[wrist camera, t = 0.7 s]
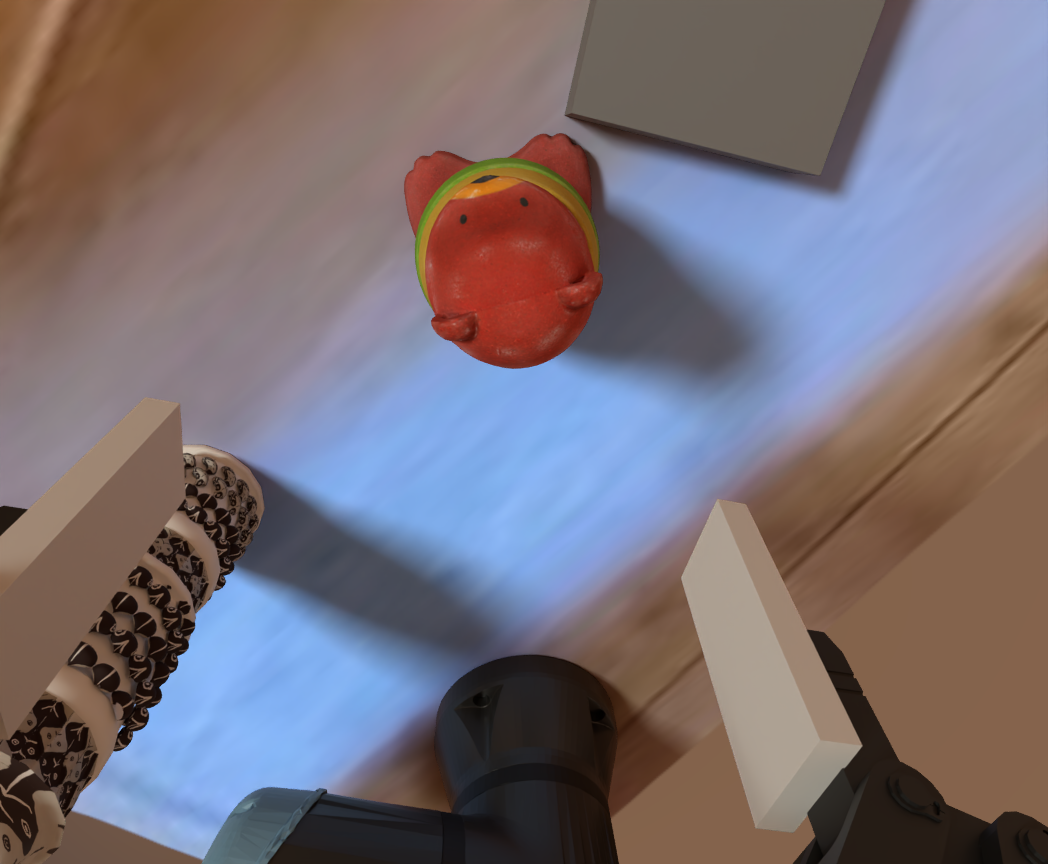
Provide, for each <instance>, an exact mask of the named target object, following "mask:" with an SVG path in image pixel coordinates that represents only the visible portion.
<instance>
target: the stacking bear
mask: <svg viewBox="0 0 1048 864" xmlns="http://www.w3.org/2000/svg"><path fill="white" fill-rule="evenodd" d="M404 192H405V199H406V205H407V211H408V215H409V219H410V223H411V226H412V229H413V232H414V235H415V237H416V242H415V263H416V269H417V275H418V279H419V282H420V286H421V288H422V291H423V293H424V295H425V297H426V299H427V301H428V303H429V305H430V306H431V308H432V310H433V311H434V313H435V317H434V318H432V320H431V324H432V327H433V329H434V330H435V332H436V333H437V334H438V335H439V336H440V337H442V338H444V339H445V340H449V341H452V342H453V343H454V344H455V345H457V346H458V347H459V348H460V349H461V350H463V351H464V352H465V353H467V354H469V355H470V356H472V357H473V358H475V359H478V360H480V361H482V362H485V363H488V364H491V365H495V366H499V367H503V368H511V369H516V368H527V367H532V366H536V365H539V364H542V363H544V362H547V361H549V360H551V359H553V358H554V357H556V356H558V355H559V354H561V353H562V352H563V351H565V350H566V349H567V348H568V347H569V346H570V345H571V344H572V343H573V342H574V341H575V340H576V339H577V337H578V336H579V334H580V333H581V331H582V330H583V328H584V327H585V325H586V323H587V321H588V319H589V317H590V314H591V311H592V308H593V304H594V301H595V300H596V299H597V297H598V296H599V294H600V293H601V288H602V284H603V277H602V274H601V273H598V270H599V258H600V252H599V241H598V235H597V231H596V227H595V224H594V221H593V218H592V216H591V178H590V172H589V165H588V161H587V157H586V154H585V152H584V150H583V149H582V147H581V146H579V145H573V144H572V143H571V141H570V138H569V137H568V136H567V135H565V134H562V133H559V134H556V135H554V136H552V137H551V136H549V135H547V134H540V135H538V136H536V137H534V138H533V139H531V140H530V141H529V142H528V143H527V144H526V145H525V146H524V147H523V148H522V149H520V150H519V151H518V152H516V153H515V154H513V155H511V156H510V157H508V158H495V159H489V160H484V161H481V162H472V161H469V160H466V159H464V158H461V157H459V156H457V155H455V154H452V153H449V152H445V151H436V152H435V153H434V154H433V155H432V156H421V157H419V158H418V159H417V160H416V161H415V163H414V169H413V170H412V171H410V172H409V173H408V174H407V175H406V178H405V183H404Z"/></svg>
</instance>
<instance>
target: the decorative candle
mask: <svg viewBox="0 0 1048 864" xmlns="http://www.w3.org/2000/svg"><path fill="white" fill-rule="evenodd" d="M183 461H184V477H185V493H186V498H185V499H184V501H183V502H182V504H181V505H180V506H179V508H178V509H177V510H176V512H175V513H174V515H173V516H172V517H171V519H170V520H169V521H168V523H167V524H166V525H165V527H164V528H163V530H162V531H161V532H160V534H159V535H158V536H157V538H156V539H155V541H154V542H153V543H152V545H151V546H150V547H149V549H148V550H147V552H146V553H145V554H144V556H143V557H142V558H141V560H140V561H139V563H138V564H137V565H136V567H135V568H134V569H133V571H132V572H131V574H130V575H129V576H128V578H127V579H126V580H125V582H124V583H123V585H122V586H121V587H120V589H119V590H118V591H117V593H116V594H115V595H114V597H113V598H112V600H111V601H110V602H109V604H108V605H107V606H106V608H105V609H104V611H103V612H102V613H101V615H100V616H99V617H98V619H97V620H96V622H95V623H94V624H93V626H92V627H91V628H90V630H89V631H88V633H87V634H86V635H85V637H84V638H83V639H82V641H81V642H80V644H79V645H78V646H77V648H76V649H75V650H74V652H73V653H72V655H71V656H70V657H69V659H68V660H67V661H66V663H65V664H64V665H63V667H62V668H61V670H60V671H59V672H58V674H57V675H56V676H55V678H54V679H53V681H52V682H51V683H50V685H49V686H48V687H47V689H46V690H45V692H44V693H43V694H42V696H41V697H40V698H39V700H38V701H37V703H36V704H35V705H34V707H33V708H32V709H31V711H30V712H29V714H28V715H27V716H26V718H25V719H24V720H23V722H22V723H21V724H20V726H19V727H18V729H17V730H16V731H15V733H14V734H13V735H12V737H11V738H10V740H4V739H0V864H42V862H44V861H45V860H46V859H47V858H48V857H49V856H50V855H52V854H53V853H54V852H55V851H56V850H57V849H58V848H59V847H60V843H61V839H62V835H63V831H64V827H65V822H66V821H65V817H66V816H67V815H68V813H69V812H70V811H71V809H72V808H73V806H74V804H75V802H76V801H77V799H78V797H79V794H80V793H81V792H82V791H83V790H84V789H85V788H86V787H87V786H88V785H90V784H91V783H92V782H93V781H94V780H95V779H96V778H97V777H98V775H99V773H100V772H101V770H102V769H103V767H104V765H105V764H106V762H107V761H108V759H109V757H110V756H111V754H112V753H113V751H120V750H122V749H124V748H125V747H127V746H128V745H129V743H130V742H131V740H132V737H133V732H132V731H138V730H141V729H143V728H144V727H145V726H146V725H147V722H148V720H149V713H148V710H147V709H146V708H151V707H154V706H155V705H157V704H158V703H159V702H160V701H161V698H162V692H161V690H160V688H159V687H160V686H161V685H162V684H164V683H165V682H166V681H167V679H168V677H169V675H170V673H172V672H174V671H175V670H176V669H177V666H178V658H177V656H179V655H181V654H183V653H185V652H186V651H187V649H188V648H189V643H188V641H189V639H190V636H191V633H192V632H193V631H194V629H195V619H196V615H195V614H196V613H197V612H198V611H199V610H200V609H201V608H202V607H203V606H204V605H205V604H206V603H207V601H209V600H210V599H211V597H212V593H213V592H214V591H217V590H219V589H221V588H222V587H223V586H224V585H225V583H226V580H225V577H224V576H223V575H228V574H230V573H231V572H232V571H233V570H234V564H233V562H234V561H236V560H238V559H240V558H241V557H242V556H243V555H244V553H245V551H246V546H247V545H249V544H250V543H251V541H252V540H253V533H254V532H255V531H256V530H257V529H258V527H259V525H260V522H261V518H262V515H263V512H264V509H265V506H264V500H263V494H262V488H261V486H260V485H259V483H258V482H257V480H256V478H255V477H254V475H253V474H252V472H251V471H250V469H249V468H248V467H247V466H245V465H244V464H243V463H241V462H240V461H239V460H237V459H236V458H235V457H233V456H232V455H231V454H230V453H227V452H224V451H221V450H218V449H215V448H213V447H210V446H207V445H183ZM135 704H136V705H135ZM134 705H135V707H134ZM122 725H123V728H122V729H121V731H120V732H119V733H118V731H119V729H120V727H121V726H122ZM124 726H125V727H124Z"/></svg>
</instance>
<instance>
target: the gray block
mask: <svg viewBox="0 0 1048 864" xmlns="http://www.w3.org/2000/svg"><path fill="white" fill-rule="evenodd" d="M885 1H886V0H590V4H589V8H588V13H587V17H586V22H585V26H584V31H583V35H582V40H581V44H580V49H579V53H578V58H577V62H576V67H575V71H574V76H573V80H572V85H571V89H570V93H569V98H568V102H567V107H566V111H565V116H568V117H572V118H576V119H580V120H584V121H588V122H592V123H596V124H600V125H604V126H608V127H612V128H616V129H620V130H624V131H628V132H632V133H636V134H640V135H644V136H648V137H652V138H656V139H660V140H664V141H668V142H672V143H676V144H680V145H684V146H688V147H692V148H695V149H699V150H703V151H707V152H711V153H715V154H719V155H723V156H727V157H731V158H735V159H739V160H743V161H747V162H751V163H755V164H759V165H763V166H767V167H771V168H775V169H779V170H783V171H787V172H791V173H798V174H807V175H817V176H820V175H821V172H822V169H823V167H824V164H825V161H826V159H827V156H828V153H829V151H830V148H831V145H832V143H833V140H834V137H835V135H836V132H837V129H838V127H839V124H840V121H841V119H842V116H843V113H844V111H845V108H846V105H847V103H848V100H849V97H850V95H851V92H852V89H853V87H854V84H855V81H856V79H857V76H858V73H859V71H860V68H861V65H862V63H863V60H864V57H865V55H866V52H867V49H868V47H869V44H870V41H871V39H872V36H873V33H874V31H875V28H876V25H877V23H878V20H879V17H880V15H881V12H882V9H883V7H884V4H885Z"/></svg>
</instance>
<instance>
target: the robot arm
mask: <svg viewBox="0 0 1048 864" xmlns="http://www.w3.org/2000/svg"><path fill="white" fill-rule="evenodd" d="M185 498H186V493H185V477H184V461H183V444H182V428H181V412H180V403H174V402H169V401H163V400H157V399H152V398H146V397H145V398H144V399H143V400H142V401H141V402H140V403H139V404H138V405H137V406H136V407H135V408H134V409H133V410H132V411H131V412H130V413H128V414H127V415H126V416H125V417H124V418H123V419H122V420H121V421H120V422H119V423H118V424H117V425H116V426H115V427H114V428H113V429H112V430H111V431H110V432H109V433H108V434H107V435H106V436H104V437H103V438H102V439H101V440H100V441H99V442H98V443H97V444H96V445H95V446H94V447H93V448H92V449H91V450H90V451H89V452H88V453H87V454H86V455H85V456H84V457H83V458H81V459H80V460H79V461H78V462H77V463H76V464H75V465H74V466H73V467H72V468H71V469H70V470H69V471H68V472H67V473H66V474H65V475H64V476H63V477H62V478H61V479H60V480H59V481H57V482H56V483H55V484H54V485H53V486H52V487H51V488H50V489H49V490H48V491H47V492H46V493H45V494H44V495H43V496H42V497H41V498H40V499H39V500H38V501H37V502H36V503H34V504H33V505H32V506H31V507H30V508H29V509H22V508H15V507H9V506H2V507H0V739H4V740H10V738H11V737H12V735H13V734H14V733H15V731H16V730H17V729H18V727H19V726H20V724H21V723H22V722H23V720H24V719H25V718H26V716H27V715H28V714H29V712H30V711H31V709H32V708H33V707H34V705H35V704H36V703H37V701H38V700H39V698H40V697H41V696H42V694H43V693H44V692H45V690H46V689H47V687H48V686H49V685H50V683H51V682H52V681H53V679H54V678H55V676H56V675H57V674H58V672H59V671H60V670H61V668H62V667H63V665H64V664H65V663H66V661H67V660H68V659H69V657H70V656H71V655H72V653H73V652H74V650H75V649H76V648H77V646H78V645H79V644H80V642H81V641H82V639H83V638H84V637H85V635H86V634H87V633H88V631H89V630H90V628H91V627H92V626H93V624H94V623H95V622H96V620H97V619H98V617H99V616H100V615H101V613H102V612H103V611H104V609H105V608H106V606H107V605H108V604H109V602H110V601H111V600H112V598H113V597H114V595H115V594H116V593H117V591H118V590H119V589H120V587H121V586H122V585H123V583H124V582H125V580H126V579H127V578H128V576H129V575H130V574H131V572H132V571H133V569H134V568H135V567H136V565H137V564H138V563H139V561H140V560H141V558H142V557H143V556H144V554H145V553H146V552H147V550H148V549H149V547H150V546H151V545H152V543H153V542H154V541H155V539H156V538H157V536H158V535H159V534H160V532H161V531H162V530H163V528H164V527H165V525H166V524H167V523H168V521H169V520H170V519H171V517H172V516H173V515H174V513H175V512H176V510H177V509H178V508H179V506H180V505H181V504H182V502H183V501H184V499H185ZM681 579H682V583H683V586H684V589H685V593H686V596H687V599H688V603H689V606H690V610H691V613H692V616H693V620H694V623H695V626H696V630H697V633H698V636H699V640H700V643H701V647H702V650H703V653H704V657H705V660H706V663H707V667H708V670H709V673H710V677H711V680H712V684H713V687H714V690H715V694H716V697H717V700H718V704H719V707H720V710H721V714H722V717H723V721H724V724H725V727H726V731H727V734H728V737H729V741H730V744H731V747H732V751H733V754H734V758H735V761H736V764H737V767H738V771H739V774H740V778H741V781H742V785H743V787H744V791H745V795H746V798H747V801H748V805H749V808H750V811H751V815H752V818H753V821H754V825H755V828H757V829H765V830H774V831H783V832H791V833H794V832H795V830H796V829H797V828H798V827H799V825H800V824H801V823H802V822H803V820H804V819H805V818H806V817H807V815H808V817H809V820H810V822H811V825H812V828H813V831H814V833H815V838H814V839H813V840H812V841H811V843H810V844H809V845H808V846H807V847H806V848H805V850H804V851H803V852H802V853H801V854H800V856H799V857H798V858H797V859H796V860H795V862H794V863H793V864H1048V827H1046V826H1045V825H1043V824H1042V823H1040V822H1038V821H1037V820H1035V819H1034V818H1032V817H1030V816H1027V815H1024V814H1022V813H1019V812H1004V813H1003V814H1002V815H1001V816H999V817H998V818H997V819H996V820H995V821H994V822H993V823H992V824H990V823H988V822H985V821H983V820H981V819H978V818H976V817H974V816H972V815H969V814H967V813H965V812H962V811H960V810H958V809H955V808H953V807H951V806H949V805H947V804H946V803H945V801H944V799H943V797H942V796H941V794H940V793H939V792H938V790H937V789H936V788H935V787H934V785H933V784H932V783H931V782H930V781H929V780H928V779H927V778H925V777H924V776H923V775H922V774H921V773H919V772H918V771H917V770H915V769H913V768H912V767H910V766H908V765H906V764H904V763H902V762H900V761H899V759H898V758H897V756H896V754H895V752H894V750H893V748H892V746H891V744H890V742H889V740H888V738H887V737H886V735H885V733H884V731H883V729H882V727H881V725H880V723H879V721H878V720H877V717H876V716H875V714H874V712H873V710H872V708H871V706H870V704H869V702H868V700H867V698H866V697H865V696H863V691H862V689H861V687H860V685H859V683H858V681H857V679H856V678H854V677H853V675H854V674H853V672H852V670H851V668H850V666H849V664H848V662H847V660H846V658H845V656H844V654H843V653H842V651H841V650H840V649H839V648H838V647H837V646H836V645H835V644H834V643H833V642H832V641H831V640H830V638H828V636H827V635H826V634H825V633H824V632H819V631H813V630H806V628H805V626H804V624H803V622H802V619H801V617H800V615H799V613H798V611H797V609H796V607H795V605H794V603H793V601H792V599H791V597H790V595H789V593H788V590H787V588H786V586H785V584H784V582H783V580H782V578H781V576H780V574H779V572H778V570H777V568H776V566H775V564H774V561H773V559H772V557H771V555H770V553H769V551H768V549H767V547H766V545H765V543H764V541H763V539H762V537H761V535H760V533H759V530H758V528H757V526H756V524H755V522H754V520H753V518H752V516H751V514H750V512H749V510H748V508H747V506H746V504H743V503H737V502H731V501H726V500H720V499H717V501H716V503H715V505H714V507H713V510H712V512H711V514H710V516H709V518H708V521H707V523H706V525H705V527H704V529H703V531H702V534H701V536H700V538H699V540H698V542H697V544H696V547H695V549H694V551H693V553H692V555H691V558H690V560H689V562H688V564H687V566H686V568H685V571H684V573H683V575H682V577H681ZM434 747H435V755H436V759H437V763H438V767H439V770H440V774H441V777H442V781H443V784H444V788H445V791H446V795H447V798H448V802H449V805H450V809H451V813H447V812H441V811H437V810H430V809H423V808H416V807H410V806H403V805H396V804H389V803H382V802H376V801H370V800H364V799H358V798H352V797H346V796H340V795H334V794H328V793H327V789H321V788H319V789H317V790H316V791H309V790H298V789H288V788H278V787H266V788H261V789H259V790H256V791H254V792H252V793H251V794H249V795H248V796H246V797H245V798H244V799H243V800H242V801H241V802H240V803H239V804H238V805H237V806H236V807H235V808H234V810H233V811H232V812H231V814H230V815H229V817H228V818H227V820H226V821H225V823H224V824H223V826H222V828H221V829H220V831H219V833H218V834H217V836H216V838H215V840H214V841H213V843H212V845H211V847H210V849H209V851H208V852H207V854H206V856H205V858H204V860H203V862H202V864H619V862H618V856H617V850H616V845H615V839H614V834H613V829H612V823H611V818H610V812H609V807H608V796H609V790H610V784H611V778H612V772H613V766H614V761H615V755H616V749H617V727H616V722H615V717H614V712H613V707H612V704H611V701H610V698H609V696H608V694H607V692H606V691H605V689H604V688H603V687H602V685H601V684H600V683H599V682H598V681H597V680H596V679H595V678H594V677H593V676H591V675H590V674H589V673H587V672H586V671H584V670H583V669H581V668H579V667H577V666H575V665H573V664H571V663H568V662H565V661H562V660H559V659H555V658H550V657H543V656H515V657H508V658H503V659H499V660H495V661H492V662H489V663H486V664H484V665H482V666H479V667H477V668H475V669H473V670H472V671H470V672H468V673H467V674H465V675H464V676H463V677H461V678H460V679H459V680H458V681H457V682H456V683H455V684H454V685H453V686H452V687H451V688H450V689H449V690H448V692H447V693H446V694H445V696H444V698H443V699H442V701H441V703H440V706H439V709H438V712H437V717H436V727H435V737H434Z"/></svg>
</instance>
